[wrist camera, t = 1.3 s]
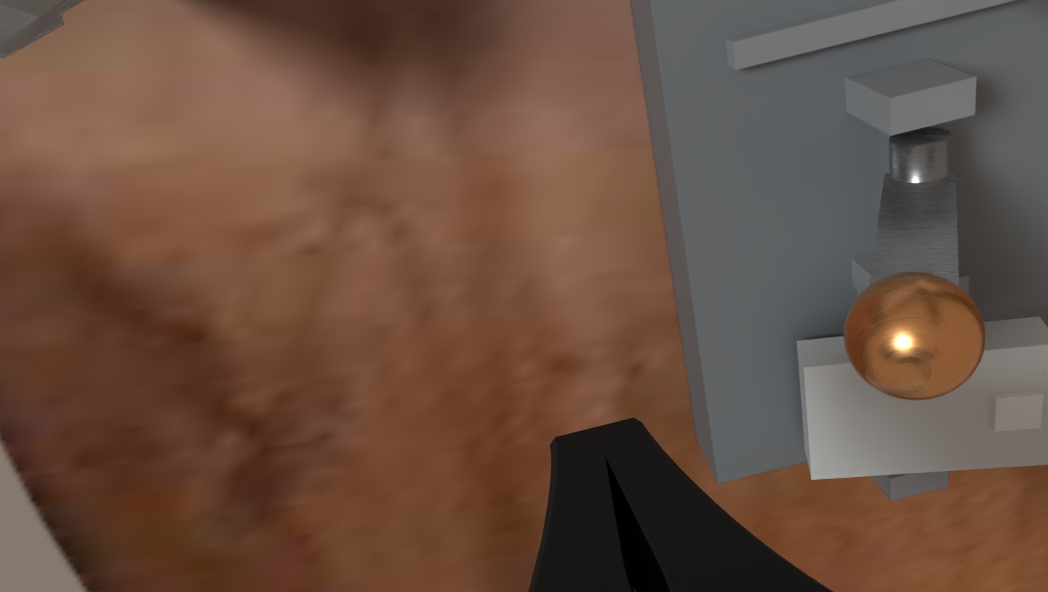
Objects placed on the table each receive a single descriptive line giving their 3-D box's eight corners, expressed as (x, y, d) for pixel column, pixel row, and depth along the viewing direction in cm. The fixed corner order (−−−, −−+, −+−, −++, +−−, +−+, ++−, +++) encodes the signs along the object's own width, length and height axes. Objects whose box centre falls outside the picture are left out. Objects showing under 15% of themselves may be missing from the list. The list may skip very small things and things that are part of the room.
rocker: (1029, 433, 22) (1049, 468, 20) (805, 449, 23) (812, 483, 22) (1039, 316, 20) (1062, 347, 19) (796, 340, 21) (804, 370, 20)
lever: (972, 247, 19) (984, 451, 14) (869, 248, 20) (840, 439, 15) (977, 122, 18) (992, 293, 12) (866, 130, 19) (833, 292, 13)
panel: (1014, 377, 25) (1110, 458, 22) (699, 456, 25) (744, 549, 22) (1059, -251, 18) (1218, -283, 14) (609, -139, 18) (656, -143, 14)
